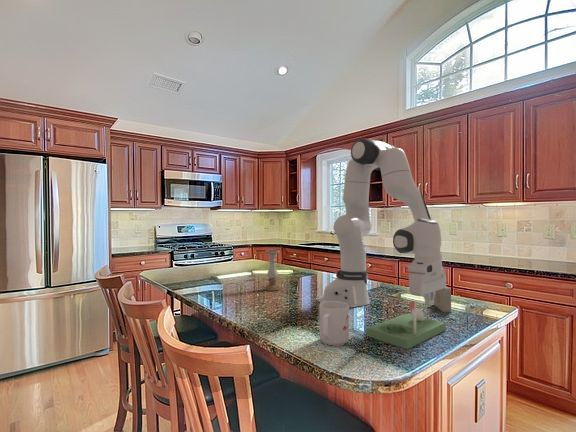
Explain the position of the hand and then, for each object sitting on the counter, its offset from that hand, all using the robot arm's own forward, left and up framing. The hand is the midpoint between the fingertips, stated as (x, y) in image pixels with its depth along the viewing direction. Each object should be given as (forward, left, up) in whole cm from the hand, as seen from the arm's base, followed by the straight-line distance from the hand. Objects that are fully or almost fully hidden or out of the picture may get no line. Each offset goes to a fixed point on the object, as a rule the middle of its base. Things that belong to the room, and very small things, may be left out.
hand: (429, 304), depth 115 cm
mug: (-30, -26, -7) cm, 41 cm away
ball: (-4, -5, -3) cm, 7 cm away
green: (-8, -11, -7) cm, 16 cm away
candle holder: (-71, +39, -7) cm, 81 cm away
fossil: (+8, +24, -7) cm, 26 cm away
